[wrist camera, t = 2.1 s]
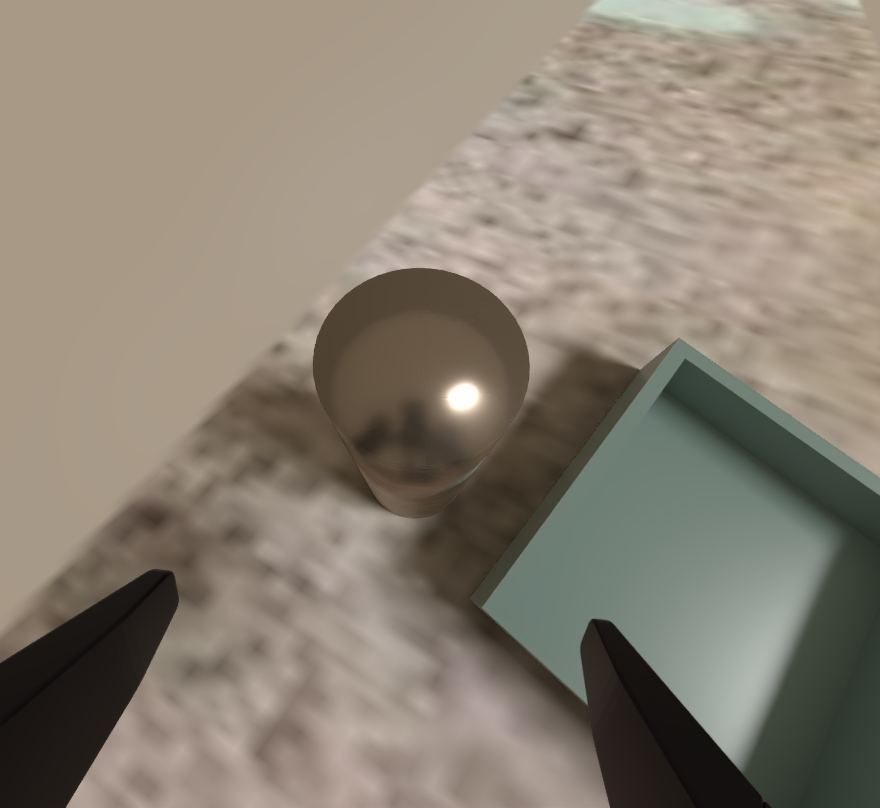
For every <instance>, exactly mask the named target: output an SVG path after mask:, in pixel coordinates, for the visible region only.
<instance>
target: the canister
mask: <svg viewBox="0 0 880 808" xmlns="http://www.w3.org/2000/svg"><path fill="white" fill-rule="evenodd" d="M529 370H530V364H529V354H528V349H527V345H526V341H525V338H524V336H523V333H522V331H521V328H520V327H519V325H518V323H517V321H516V319H515V318H514V316H513V315H512V314H511V312H510V311H509V309H508V308H507V307H506V306H505V305H504V304H503V303H502V302H501V301H500V300H499V299H498V298H497V297H496V296H495V295H494V294H492V293H491V292H490V291H489V290H487V289H486V288H484V287H483V286H481V285H480V284H478V283H476V282H474V281H472V280H470V279H468V278H466V277H463V276H460V275H458V274H455V273H451V272H447V271H443V270H437V269H430V268H411V269H402V270H396V271H391V272H388V273H385V274H381V275H378V276H376V277H374V278H371V279H369V280H367V281H365V282H363V283H362V284H360V285H358V286H357V287H355V288H354V289H353V290H351V291H350V292H349V293H347V294H346V295H345V296H344V297H343V298H342V299H341V300H340V301H339V302H338V303H337V304H336V305H335V306H334V308H333V309H332V310H331V311H330V313H329V314H328V316H327V317H326V319H325V321H324V323H323V324H322V327H321V329H320V331H319V334H318V336H317V340H316V344H315V348H314V356H313V375H314V381H315V386H316V390H317V393H318V395H319V398H320V401H321V403H322V405H323V407H324V409H325V411H326V412H327V414H328V416H329V418H330V419H331V421H332V423H333V425H334V426H335V428H336V430H337V432H338V433H339V435H340V437H341V439H342V440H343V442H344V444H345V446H346V447H347V449H348V451H349V453H350V454H351V456H352V458H353V459H354V461H355V463H356V465H357V466H358V468H359V470H360V472H361V473H362V475H363V477H364V479H365V480H366V482H367V484H368V486H369V487H370V489H371V491H372V493H373V494H374V496H375V497H376V499H377V500H378V501H379V503H380V504H381V505H382V506H383V507H385V508H386V509H387V510H389V511H390V512H392V513H394V514H396V515H399V516H402V517H406V518H425V517H429V516H432V515H434V514H437V513H439V512H440V511H442V510H444V509H445V508H446V507H447V506H448V505H449V504H450V503H451V502H452V501H453V500H454V499H455V497H456V496H457V495H458V493H459V492H460V491H461V489H462V488H463V487H464V485H465V484H466V483H467V481H468V480H469V478H470V477H471V476H472V474H473V473H474V472H475V470H476V469H477V468H478V466H479V465H480V464H481V462H482V461H483V460H484V458H485V457H486V456H487V454H488V453H489V452H490V450H491V449H492V448H493V446H494V445H495V444H496V442H497V441H498V439H499V438H500V437H501V435H502V434H503V433H504V431H505V430H506V429H507V427H508V426H509V425H510V423H511V422H512V420H513V419H514V418H515V416H516V415H517V413H518V411H519V409H520V407H521V405H522V403H523V400H524V397H525V394H526V392H527V387H528V382H529Z"/></svg>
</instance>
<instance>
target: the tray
mask: <svg viewBox="0 0 880 808" xmlns="http://www.w3.org/2000/svg"><path fill="white" fill-rule="evenodd" d="M470 600H471V601H472V602H473V603H474V604H475V605H476V606H477V607H478V608H479V609H481V610H482V611H483V612H484V613H485V614H486V615H487V616H488V617H489V618H490V619H491V620H493V621H494V622H495V623H496V624H497V625H498V626H499V627H500V628H501V629H502V630H504V631H505V632H506V633H507V634H508V635H509V636H510V637H511V638H512V639H513V640H514V641H516V642H517V643H518V644H519V645H520V646H521V647H522V648H523V649H524V650H525V651H526V652H528V653H529V654H530V655H531V656H532V657H533V658H534V659H535V660H536V661H537V662H538V663H540V664H541V665H542V666H543V667H544V668H545V669H546V670H547V671H548V672H549V673H551V674H552V675H553V676H554V677H555V678H556V679H557V680H558V681H559V682H560V683H561V684H563V685H564V686H565V687H566V688H567V689H568V690H569V691H570V692H571V693H572V694H573V695H575V696H576V697H577V698H578V699H579V700H580V701H581V702H582V703H583V704H584V705H585V706H587V707H588V703H587V696H586V689H585V683H584V676H583V669H582V662H581V655H580V645H581V641H582V638H583V636H584V633H585V631H586V628H587V626H588V623H589V621H590V620H591V619H594V618H595V619H604V620H609V621H611V622H612V623H613V624H614V625H615V626H616V627H617V628H618V629H619V631H620V632H621V633H622V634H623V635H624V636H625V638H626V639H627V640H628V641H629V642H630V643H631V645H632V646H633V647H634V648H635V649H636V650H637V651H638V653H639V654H640V655H641V656H642V657H643V658H644V660H645V661H646V662H647V663H648V664H649V665H650V667H651V668H652V669H653V670H654V671H655V672H656V674H657V675H658V676H659V677H660V678H661V679H662V681H663V682H664V683H665V684H666V685H667V686H668V688H669V689H670V690H671V691H672V692H673V693H674V695H675V696H676V697H677V698H678V699H679V700H680V701H681V703H682V704H683V705H684V706H685V707H686V708H687V710H688V711H689V712H690V713H691V714H692V715H693V717H694V718H695V719H696V720H697V721H698V722H699V724H700V725H701V726H702V727H703V728H704V729H705V731H706V732H707V733H708V734H709V735H710V736H711V738H712V739H713V740H714V741H715V742H716V743H717V744H718V746H719V747H720V748H721V749H722V750H723V751H724V753H725V754H726V755H727V756H728V757H729V758H730V760H731V761H732V762H733V763H734V764H735V765H736V767H737V768H738V769H739V770H740V771H741V772H742V774H743V775H744V776H745V777H746V778H747V779H748V781H749V782H750V783H751V784H752V785H753V786H754V788H755V789H756V790H757V791H758V792H759V793H760V794H761V796H762V797H763V801H766V802H767V803H768V804H769V805H770V806H771V807H772V808H880V478H879V477H878V476H876V475H875V474H873V473H872V472H871V471H869V470H868V469H866V468H865V467H863V466H862V465H860V464H859V463H858V462H856V461H855V460H853V459H852V458H850V457H849V456H848V455H846V454H845V453H843V452H842V451H840V450H839V449H838V448H836V447H835V446H833V445H832V444H830V443H829V442H828V441H826V440H825V439H823V438H822V437H820V436H819V435H818V434H816V433H815V432H813V431H812V430H810V429H809V428H807V427H806V426H805V425H803V424H802V423H800V422H799V421H797V420H796V419H795V418H793V417H792V416H790V415H789V414H787V413H786V412H785V411H783V410H782V409H780V408H779V407H777V406H776V405H775V404H773V403H772V402H770V401H769V400H767V399H766V398H764V397H763V396H762V395H760V394H759V393H757V392H756V391H754V390H753V389H752V388H750V387H749V386H747V385H746V384H744V383H743V382H742V381H740V380H739V379H737V378H736V377H734V376H733V375H732V374H730V373H729V372H727V371H726V370H724V369H723V368H722V367H720V366H719V365H717V364H716V363H714V362H713V361H711V360H710V359H709V358H707V357H706V356H704V355H703V354H701V353H700V352H699V351H697V350H696V349H694V348H693V347H691V346H690V345H689V344H687V343H686V342H684V341H683V340H681V339H680V338H678V339H677V340H676V341H675V342H673V343H672V344H671V345H670V346H669V347H667V348H666V349H665V350H664V351H662V352H661V353H660V354H659V355H658V356H656V357H655V358H654V359H653V360H652V361H650V362H649V363H648V364H647V365H645V366H644V367H643V368H642V369H641V370H640V371H639V372H638V374H637V375H636V376H635V378H634V379H633V380H632V382H631V383H630V384H629V386H628V387H627V388H626V390H625V391H624V392H623V394H622V395H621V396H620V398H619V399H618V400H617V402H616V403H615V404H614V406H613V407H612V408H611V410H610V411H609V412H608V414H607V415H606V416H605V418H604V419H603V420H602V422H601V423H600V424H599V426H598V427H597V429H596V430H595V431H594V433H593V434H592V435H591V437H590V438H589V439H588V441H587V442H586V443H585V445H584V446H583V447H582V449H581V450H580V451H579V453H578V454H577V455H576V457H575V458H574V459H573V461H572V462H571V463H570V465H569V466H568V467H567V469H566V470H565V471H564V473H563V474H562V475H561V477H560V478H559V479H558V481H557V482H556V483H555V485H554V486H553V487H552V489H551V490H550V491H549V493H548V494H547V495H546V497H545V498H544V499H543V501H542V502H541V503H540V505H539V506H538V508H537V509H536V510H535V512H534V513H533V514H532V516H531V517H530V518H529V520H528V521H527V522H526V524H525V525H524V526H523V528H522V529H521V530H520V532H519V533H518V534H517V536H516V537H515V538H514V540H513V541H512V542H511V544H510V545H509V546H508V548H507V549H506V550H505V552H504V553H503V554H502V556H501V557H500V558H499V560H498V561H497V562H496V564H495V565H494V566H493V568H492V569H491V570H490V572H489V573H488V574H487V576H486V577H485V578H484V580H483V581H482V582H481V584H480V585H479V586H478V588H477V589H476V591H475V592H474V593H473V595H472V596H471V597H470Z"/></svg>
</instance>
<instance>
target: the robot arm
mask: <svg viewBox="0 0 880 808" xmlns="http://www.w3.org/2000/svg"><path fill="white" fill-rule="evenodd" d="M178 602H179V595H178V590H177V585H176V580H175V575H174V573H173V572H172V571H169V570H160V569H153V570H150V571H148V572H146V573H144V574H143V575H141V576H140V577H138V578H136V579H135V580H133V581H131V582H130V583H128V584H127V585H125V586H123V587H122V588H120V589H119V590H117V591H115V592H114V593H112V594H111V595H109V596H107V597H106V598H104V599H102V600H101V601H99V602H98V603H96V604H94V605H93V606H91V607H90V608H88V609H86V610H85V611H83V612H82V613H80V614H78V615H77V616H75V617H74V618H72V619H70V620H69V621H67V622H65V623H64V624H62V625H61V626H59V627H57V628H56V629H54V630H53V631H51V632H49V633H48V634H46V635H45V636H43V637H41V638H40V639H38V640H36V641H35V642H33V643H32V644H30V645H28V646H27V647H25V648H24V649H22V650H20V651H19V652H17V653H16V654H14V655H12V656H11V657H9V658H8V659H6V660H4V661H3V662H1V663H0V808H66V806H67V805H68V803H69V801H70V800H71V798H72V796H73V795H74V793H75V791H76V790H77V788H78V786H79V785H80V783H81V781H82V780H83V778H84V776H85V775H86V773H87V771H88V770H89V768H90V767H91V765H92V763H93V762H94V760H95V758H96V757H97V755H98V753H99V752H100V750H101V748H102V747H103V745H104V743H105V742H106V740H107V738H108V737H109V735H110V733H111V732H112V730H113V728H114V727H115V725H116V723H117V722H118V720H119V718H120V717H121V715H122V714H123V712H124V710H125V709H126V707H127V705H128V704H129V702H130V700H131V699H132V697H133V695H134V693H135V692H136V690H137V688H138V686H139V685H140V683H141V681H142V679H143V677H144V675H145V673H146V671H147V669H148V667H149V665H150V663H151V661H152V659H153V657H154V655H155V653H156V650H157V648H158V646H159V644H160V642H161V640H162V638H163V636H164V634H165V632H166V630H167V628H168V626H169V624H170V622H171V620H172V618H173V615H174V613H175V611H176V609H177V606H178ZM580 655H581V662H582V669H583V676H584V683H585V689H586V696H587V703H588V710H589V717H590V723H591V729H592V734H593V739H594V743H595V748H596V752H597V756H598V760H599V764H600V768H601V772H602V776H603V780H604V785H605V789H606V793H607V797H608V801H609V805H610V808H772V807H771V806H770V805H769V804H768V803H767V802H766V801H763V797H762V796H761V794H760V793H759V792H758V791H757V790H756V789H755V788H754V786H753V785H752V784H751V783H750V782H749V781H748V779H747V778H746V777H745V776H744V775H743V774H742V772H741V771H740V770H739V769H738V768H737V767H736V765H735V764H734V763H733V762H732V761H731V760H730V758H729V757H728V756H727V755H726V754H725V753H724V751H723V750H722V749H721V748H720V747H719V746H718V744H717V743H716V742H715V741H714V740H713V739H712V738H711V736H710V735H709V734H708V733H707V732H706V731H705V729H704V728H703V727H702V726H701V725H700V724H699V722H698V721H697V720H696V719H695V718H694V717H693V715H692V714H691V713H690V712H689V711H688V710H687V708H686V707H685V706H684V705H683V704H682V703H681V701H680V700H679V699H678V698H677V697H676V696H675V695H674V693H673V692H672V691H671V690H670V689H669V688H668V686H667V685H666V684H665V683H664V682H663V681H662V679H661V678H660V677H659V676H658V675H657V674H656V672H655V671H654V670H653V669H652V668H651V667H650V665H649V664H648V663H647V662H646V661H645V660H644V658H643V657H642V656H641V655H640V654H639V653H638V651H637V650H636V649H635V648H634V647H633V646H632V645H631V643H630V642H629V641H628V640H627V639H626V638H625V636H624V635H623V634H622V633H621V632H620V631H619V629H618V628H617V627H616V626H615V625H614V624H613V623H612V622H611V621H609V620H604V619H595V618H594V619H591V620H590V621H589V623H588V626H587V628H586V631H585V633H584V636H583V638H582V641H581V645H580Z"/></svg>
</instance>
